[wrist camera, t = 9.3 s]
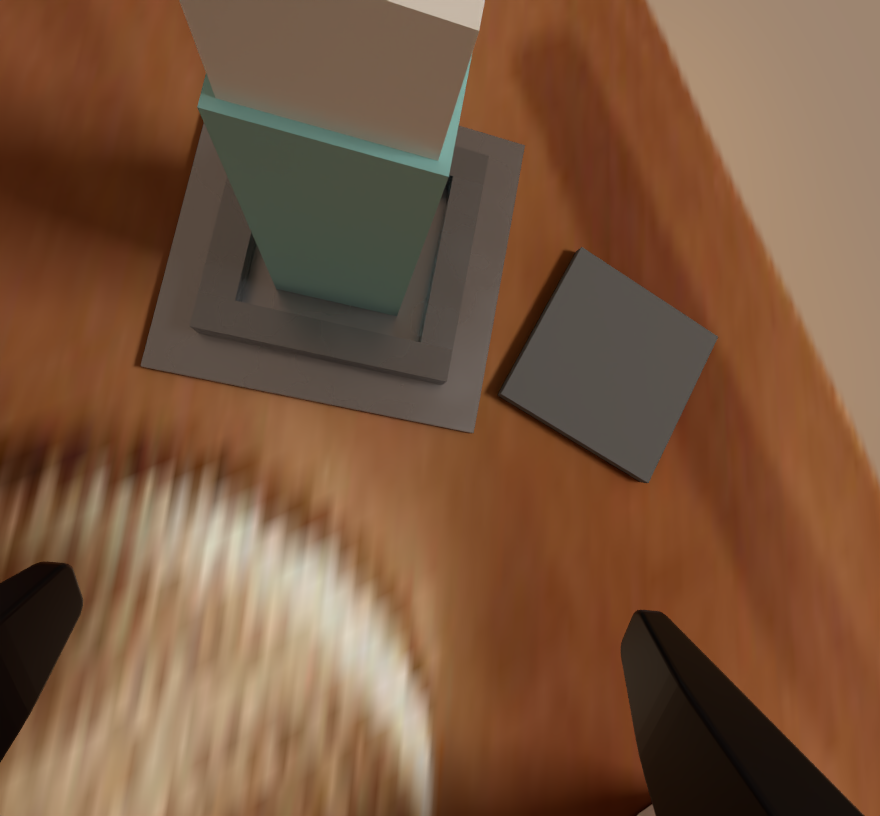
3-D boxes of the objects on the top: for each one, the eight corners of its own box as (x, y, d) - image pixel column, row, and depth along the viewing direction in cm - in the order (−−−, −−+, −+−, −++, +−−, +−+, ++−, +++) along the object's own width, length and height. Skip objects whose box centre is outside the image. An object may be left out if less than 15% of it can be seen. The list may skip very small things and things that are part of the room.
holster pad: (641, 482, 21) (648, 483, 20) (497, 395, 20) (501, 393, 20) (709, 339, 22) (718, 336, 22) (575, 251, 21) (581, 246, 21)
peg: (396, 316, 19) (494, 54, 7) (275, 288, 19) (123, -65, 6) (418, 205, 20) (547, -235, 7) (301, 174, 19) (211, -378, 6)
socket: (471, 433, 20) (480, 431, 18) (143, 367, 18) (128, 360, 17) (522, 149, 21) (533, 130, 20) (223, 60, 19) (214, 32, 18)
